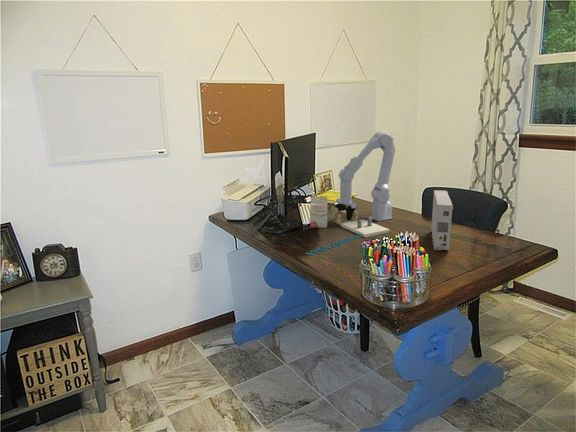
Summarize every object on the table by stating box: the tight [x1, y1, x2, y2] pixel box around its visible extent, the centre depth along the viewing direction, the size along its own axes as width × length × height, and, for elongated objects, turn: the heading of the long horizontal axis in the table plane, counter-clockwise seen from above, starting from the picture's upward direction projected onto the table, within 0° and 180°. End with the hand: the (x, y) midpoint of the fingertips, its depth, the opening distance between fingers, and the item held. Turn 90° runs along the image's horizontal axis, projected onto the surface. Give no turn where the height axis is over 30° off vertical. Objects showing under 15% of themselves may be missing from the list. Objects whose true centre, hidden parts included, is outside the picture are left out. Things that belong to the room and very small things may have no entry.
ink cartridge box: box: [309, 196, 328, 229], centre depth 207 cm, size 9×5×15 cm, turn 84°
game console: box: [430, 189, 454, 251], centre depth 180 cm, size 6×27×20 cm, turn 164°
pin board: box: [340, 217, 391, 238], centre depth 202 cm, size 14×20×5 cm
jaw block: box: [332, 209, 359, 225], centre depth 215 cm, size 5×12×5 cm, turn 117°
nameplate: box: [304, 234, 363, 256], centre depth 183 cm, size 37×1×5 cm
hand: (345, 218), depth 216 cm, fingers open, 6 cm apart
